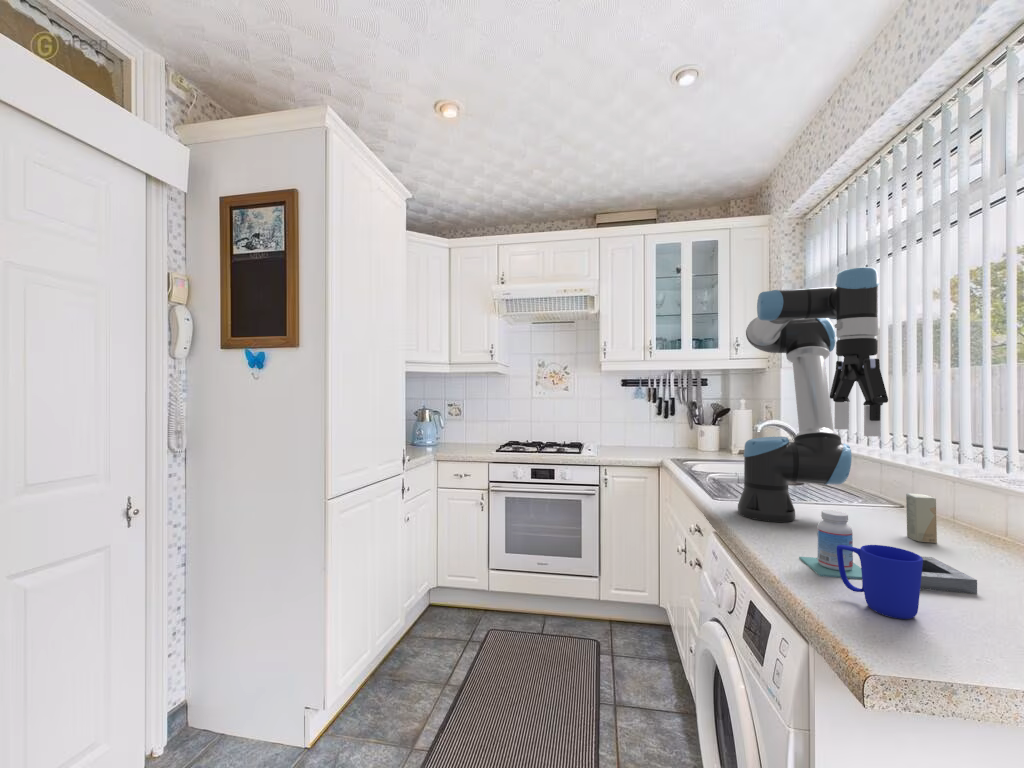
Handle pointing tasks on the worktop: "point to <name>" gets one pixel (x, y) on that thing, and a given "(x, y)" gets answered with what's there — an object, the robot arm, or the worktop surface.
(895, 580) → the mug
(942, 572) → the grey square frame
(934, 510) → the box
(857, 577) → the mat
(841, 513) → the pill bottle
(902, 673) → the worktop surface
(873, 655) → the worktop surface
